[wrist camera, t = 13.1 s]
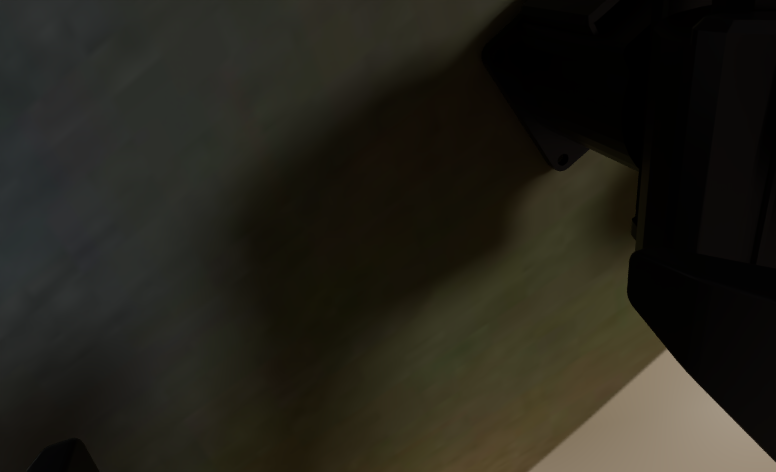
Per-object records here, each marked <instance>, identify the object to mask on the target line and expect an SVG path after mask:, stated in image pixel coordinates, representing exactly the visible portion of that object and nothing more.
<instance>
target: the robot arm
mask: <svg viewBox="0 0 776 472" xmlns="http://www.w3.org/2000/svg"><path fill="white" fill-rule="evenodd" d="M497 49H499V51H500V56H499V58H498V59H497V60H496V61H494V60H493V53H494V52H495V51H496V50H497ZM482 61H483V63H484V65H485V67H486V68H487V70H488V71H489V73H490V74H491V76H492V78H493V79H494V81H495V82H496V84H497V85H498V87H499V88H500V90H501V92H502V93H503V95H504V96H505V98H506V99H507V101H508V102H509V104H510V106H511V107H512V109H513V110H514V112H515V113H516V115H517V116H518V118H519V120H520V121H521V123H522V124H523V126H524V127H525V129H526V130H527V132H528V134H529V135H530V137H531V138H532V140H533V141H534V143H535V144H536V146H537V148H538V149H539V151H540V152H541V154H542V155H543V157H544V158H545V160H546V162H547V163H548V165H549V166H550V167H552V168H553V169H555V170H557V171H564V170H566V169H567V168H569V167H570V166H571V165H572V164H573V163H574V162H576V161H577V160H578V159H579V158H580V157H581V156H582V155H583V154H585V153H586V152H587V151H588V150H589V149H591V150H593V151H596V152H598V153H600V154H602V155H604V156H606V157H608V158H611V159H613V160H615V161H617V162H619V163H621V164H624V165H626V166H628V167H630V168H632V169H634V170H636V171H639V177H638V189H637V202H636V214H635V217H634V218H633V219H632V225H631V235H632V236H633V237H634V239H635V240H636V246H635V252H634V253H632V255H631V257H630V259H629V270H628V284H627V295H628V298H629V301H630V303H631V304H632V306H633V307H634V309H635V310H636V311H637V312H638V313H639V315H640V316H641V317H642V318H643V320H644V321H645V322H646V323H647V324H648V326H649V327H650V328H651V329H652V331H653V332H654V333H655V334H656V336H657V337H658V338H659V339H660V340H661V342H662V343H663V344H664V345H665V347H666V348H667V349H668V350H669V352H670V353H671V354H672V355H673V356H674V358H675V359H676V360H677V361H678V362H679V363H680V365H681V366H682V367H683V368H684V369H685V371H686V372H687V373H688V374H689V375H690V376H691V377H692V378H693V379H694V380H695V381H696V382H697V383H698V384H699V385H700V386H701V387H702V388H703V389H704V390H705V391H706V392H707V393H708V394H709V395H710V396H711V397H712V398H713V399H714V400H715V401H716V402H717V403H718V405H719V406H720V407H722V408H723V409H724V411H725V412H726V413H728V415H729V416H730V417H732V419H733V420H734V421H735V422H736V423H737V424H738V425H739V426H740V427H741V428H742V429H743V430H744V431H745V432H746V433H747V434H748V435H749V436H750V437H751V438H752V439H753V440H754V441H755V442H756V443H757V444H758V445H759V446H760V447H761V448H762V449H763V450H764V451H765V452H766V453H767V454H768V455H769V456H770V457H771V458H772V459H773V460H774V461H775V462H776V0H527V1H526V2H525V3H524V4H523V5H522V8H521V12H520V14H519V15H518V16H517V17H516V18H515V19H514V20H513V21H512V22H510V23H509V24H508V25H507V26H506V27H505V28H504V29H503V30H502V31H501V32H499V33H498V34H497V35H496V36H495V37H494V38H493V39H492V40H491V41H490V42H488V43H487V44H486V46H485V47H484V49H483V51H482ZM562 154H563V157H562V159H561V161H560V162H558V158H559V157H560V155H562ZM25 472H99V470H98V468H97V467H96V465H95V463H94V461H93V459H92V458H91V456H90V454H89V452H88V450H87V449H86V447H85V445H84V443H83V442H82V441H81V440H80V439H77V438H71V439H68V440H65V441H62V442H59V443H56V444H53V445H50V446H48V447H46V448H45V449H43V451H42V452H41V453H40V454H39V455H38V456H37V458H36V459H35V460H34V461H33V462H32V464H31V465H30V466H29V467H28V469H27V470H26V471H25Z"/></svg>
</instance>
